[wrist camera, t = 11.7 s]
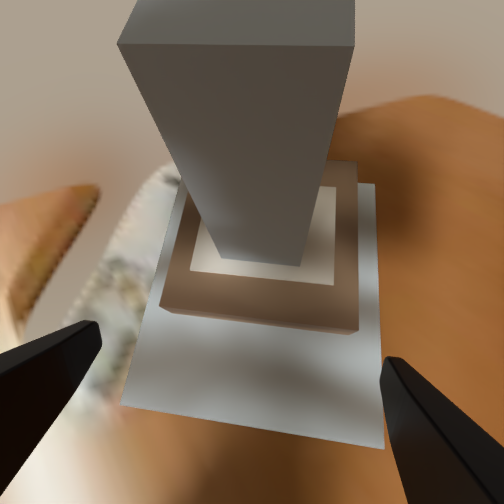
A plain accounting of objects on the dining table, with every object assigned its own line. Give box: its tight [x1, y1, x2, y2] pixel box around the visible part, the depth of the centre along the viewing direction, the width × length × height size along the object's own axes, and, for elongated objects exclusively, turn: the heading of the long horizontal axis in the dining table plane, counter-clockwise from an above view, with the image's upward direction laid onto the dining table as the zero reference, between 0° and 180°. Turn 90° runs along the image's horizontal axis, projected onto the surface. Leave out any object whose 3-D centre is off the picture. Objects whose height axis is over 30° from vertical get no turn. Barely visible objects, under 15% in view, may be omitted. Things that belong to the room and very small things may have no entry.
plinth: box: [120, 160, 384, 449], centre depth 19 cm, size 18×16×4 cm
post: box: [117, 0, 355, 267], centre depth 13 cm, size 5×5×13 cm
